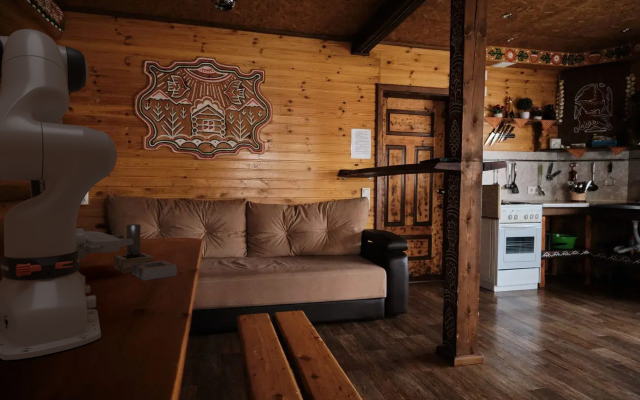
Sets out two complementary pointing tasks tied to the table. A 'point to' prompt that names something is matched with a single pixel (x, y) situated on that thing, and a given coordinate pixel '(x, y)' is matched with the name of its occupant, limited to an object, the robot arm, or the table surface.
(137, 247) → the dark rounded handle
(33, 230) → the robot arm
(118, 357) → the table surface
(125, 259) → the rack
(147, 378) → the table surface
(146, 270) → the socket
